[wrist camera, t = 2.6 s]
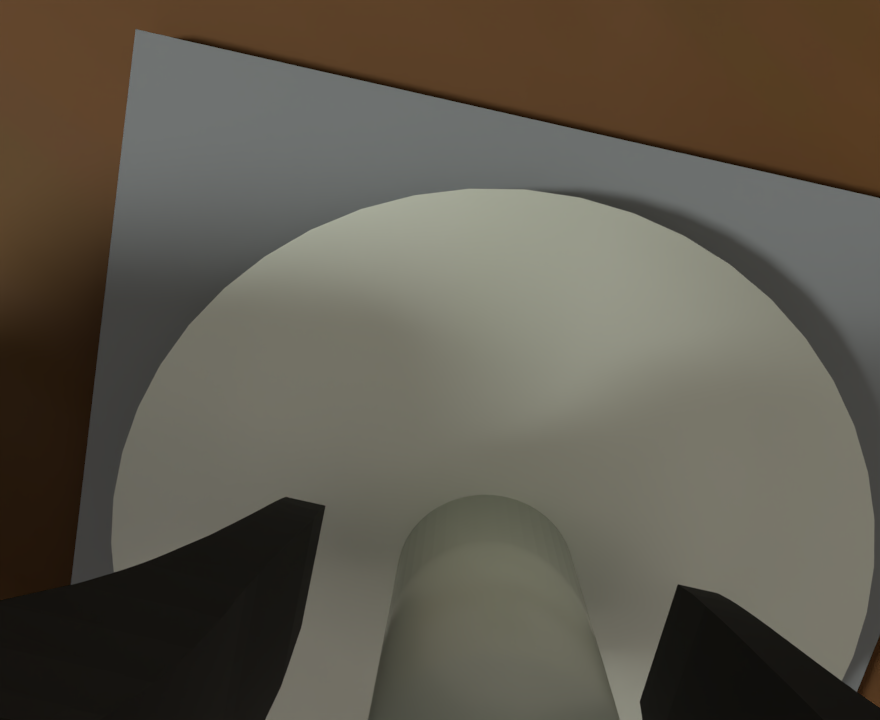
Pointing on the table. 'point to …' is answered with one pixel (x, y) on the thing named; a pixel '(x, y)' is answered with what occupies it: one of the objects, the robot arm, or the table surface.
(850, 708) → the robot arm
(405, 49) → the table surface
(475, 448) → the lid
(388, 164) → the mat
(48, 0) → the table surface
